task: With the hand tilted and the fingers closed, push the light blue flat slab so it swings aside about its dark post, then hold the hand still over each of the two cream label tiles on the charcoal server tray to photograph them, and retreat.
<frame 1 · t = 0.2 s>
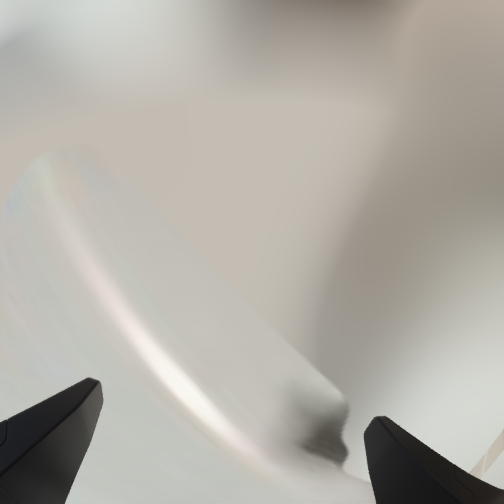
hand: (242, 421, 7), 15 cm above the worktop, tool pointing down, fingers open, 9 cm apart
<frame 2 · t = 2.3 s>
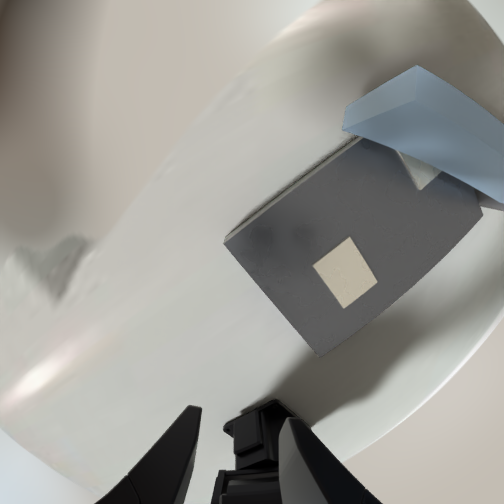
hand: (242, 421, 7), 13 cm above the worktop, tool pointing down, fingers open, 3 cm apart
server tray: (371, 220, 19), on the worktop
light blue flat slab: (471, 165, 13), point 6 cm above the worktop, hinge at 0.0°
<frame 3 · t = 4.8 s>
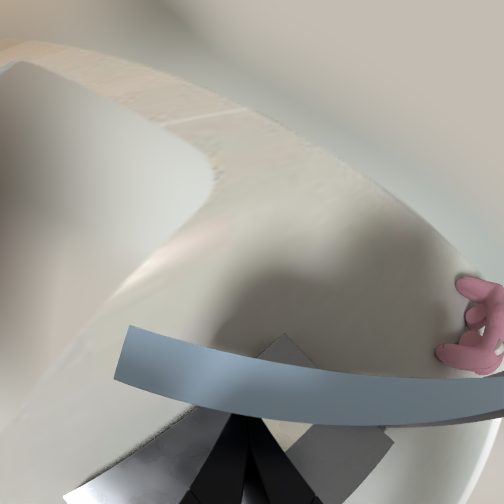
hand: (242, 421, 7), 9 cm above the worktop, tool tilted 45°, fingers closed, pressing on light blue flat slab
video game controller: (459, 331, 21), on the worktop
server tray: (231, 487, 13), on the worktop
light blue flat slab: (340, 407, 11), point 6 cm above the worktop, hinge at -3.5°, touching gripper
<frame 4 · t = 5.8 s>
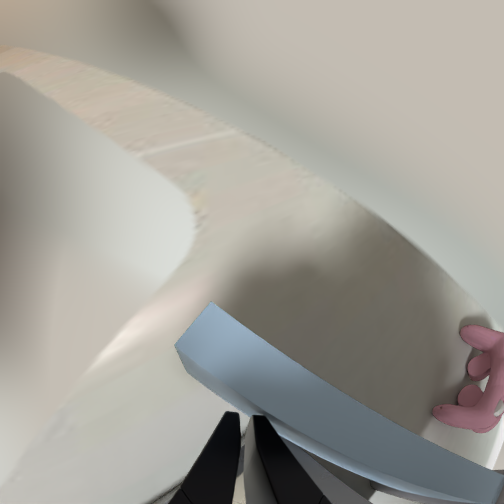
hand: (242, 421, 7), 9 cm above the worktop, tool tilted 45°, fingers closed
video game controller: (459, 382, 19), on the worktop
light blue flat slab: (348, 451, 10), point 5 cm above the worktop, hinge at -28.3°
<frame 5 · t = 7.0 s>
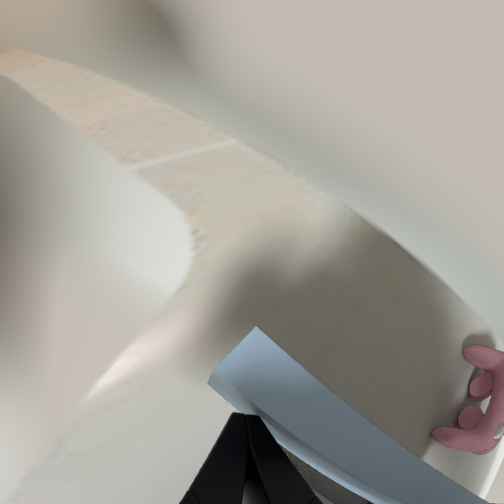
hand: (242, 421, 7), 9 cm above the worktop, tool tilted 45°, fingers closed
video game controller: (461, 402, 17), on the worktop
light blue flat slab: (357, 474, 9), point 6 cm above the worktop, hinge at -34.9°
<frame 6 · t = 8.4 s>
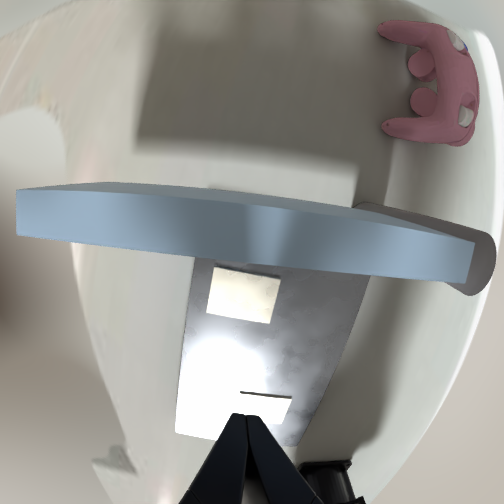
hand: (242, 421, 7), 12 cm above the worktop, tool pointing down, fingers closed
video game controller: (408, 86, 16), on the worktop
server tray: (258, 353, 21), on the worktop
light blue flat slab: (265, 213, 13), point 6 cm above the worktop, hinge at -34.9°
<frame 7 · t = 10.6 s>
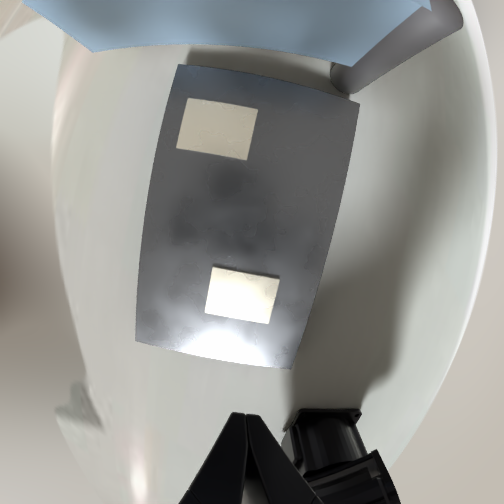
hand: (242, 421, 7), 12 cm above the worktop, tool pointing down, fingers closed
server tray: (238, 222, 18), on the worktop
light blue flat slab: (236, 17, 10), point 6 cm above the worktop, hinge at -34.9°
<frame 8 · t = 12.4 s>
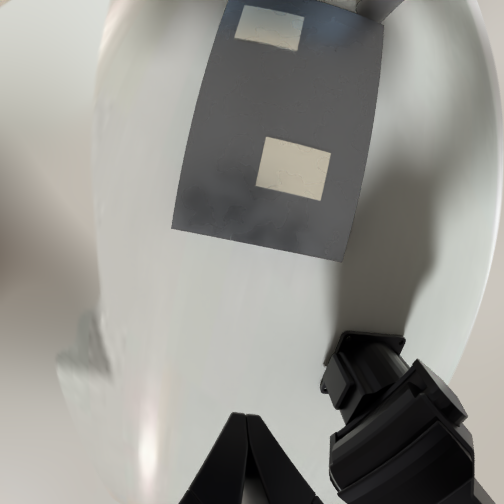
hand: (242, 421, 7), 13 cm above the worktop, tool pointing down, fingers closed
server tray: (285, 110, 17), on the worktop
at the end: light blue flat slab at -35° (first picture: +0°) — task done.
